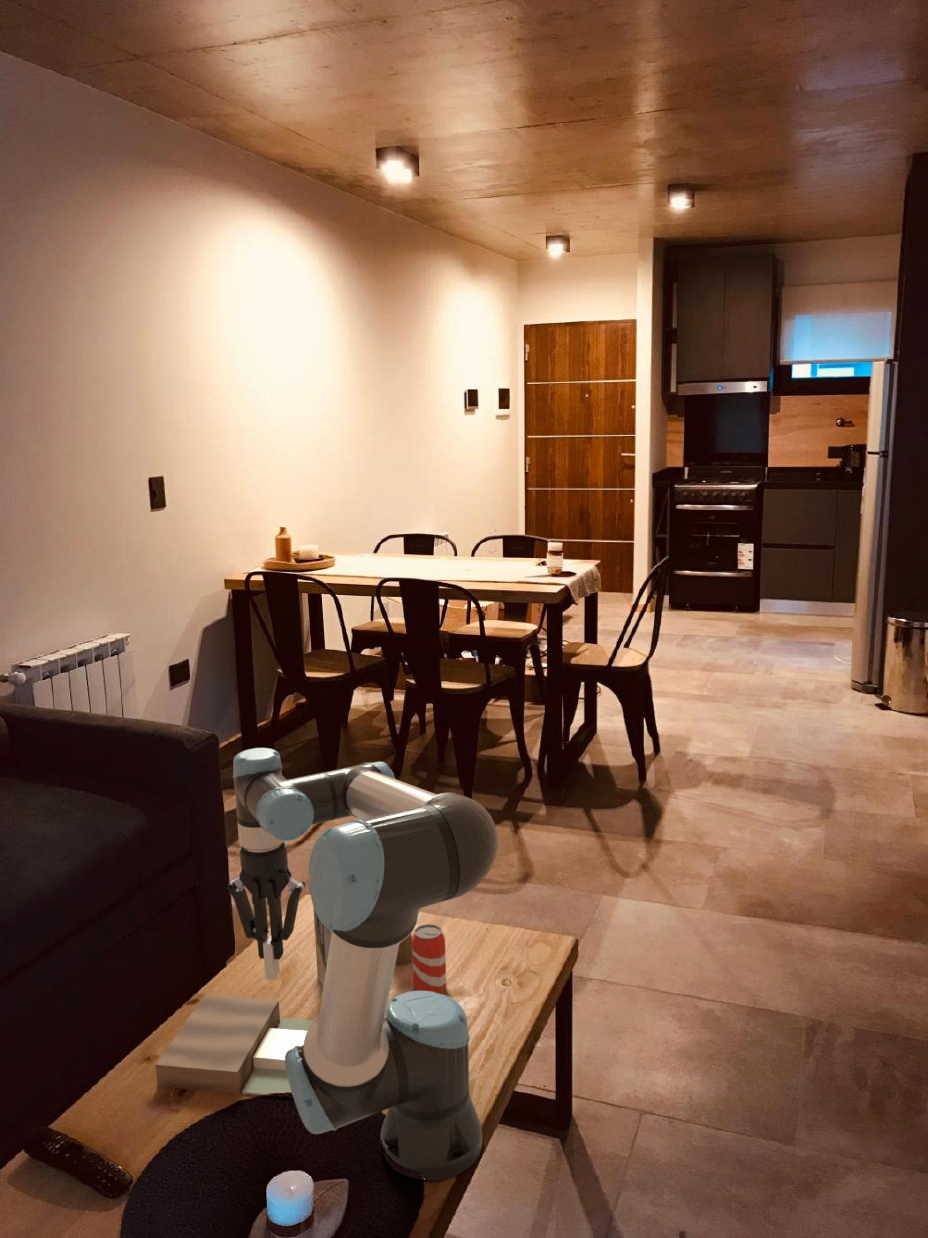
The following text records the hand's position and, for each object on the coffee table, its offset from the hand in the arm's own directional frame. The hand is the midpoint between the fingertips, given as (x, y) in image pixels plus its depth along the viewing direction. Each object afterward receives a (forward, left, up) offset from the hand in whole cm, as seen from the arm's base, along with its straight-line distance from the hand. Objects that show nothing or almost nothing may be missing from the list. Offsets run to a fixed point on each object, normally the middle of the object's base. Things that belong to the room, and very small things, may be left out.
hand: (272, 975), depth 170 cm
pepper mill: (+33, -14, -16) cm, 39 cm away
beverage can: (+23, -22, -16) cm, 36 cm away
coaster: (0, -1, -15) cm, 15 cm away
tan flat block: (0, +10, -16) cm, 19 cm away
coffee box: (+23, -4, -16) cm, 28 cm away
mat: (0, -5, -16) cm, 16 cm away
